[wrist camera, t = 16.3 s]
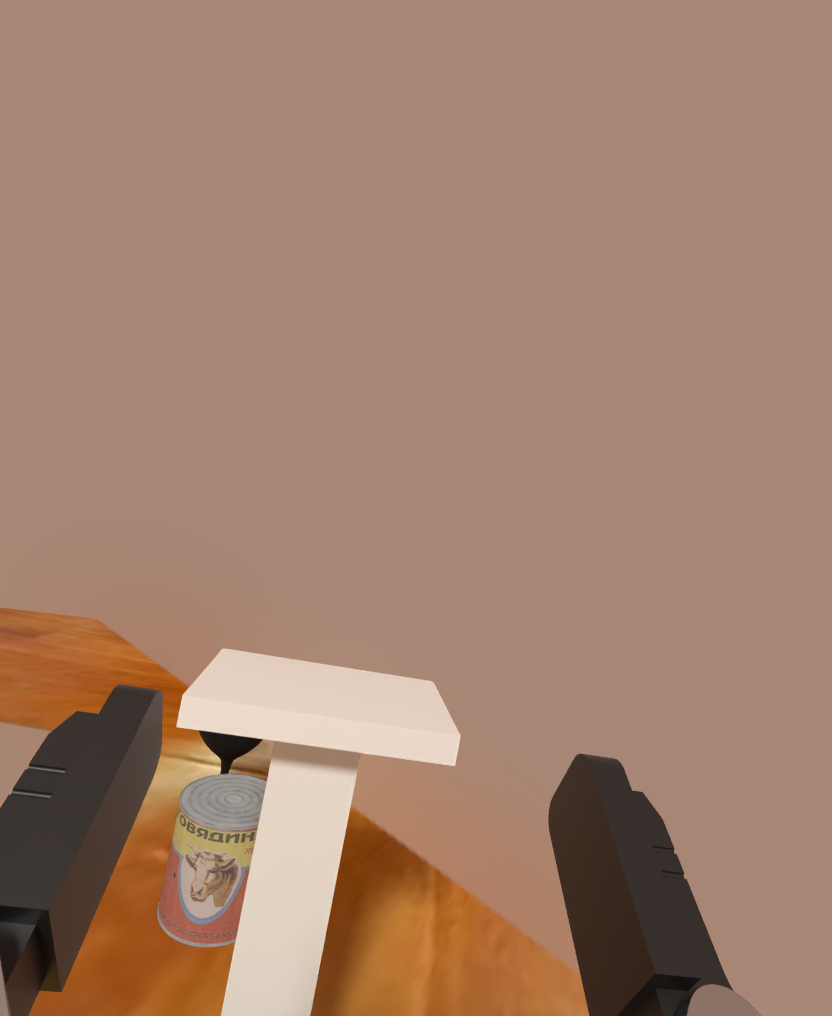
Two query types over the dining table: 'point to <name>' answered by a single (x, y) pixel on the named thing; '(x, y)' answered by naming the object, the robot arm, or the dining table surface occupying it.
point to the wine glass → (228, 746)
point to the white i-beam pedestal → (305, 799)
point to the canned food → (210, 859)
